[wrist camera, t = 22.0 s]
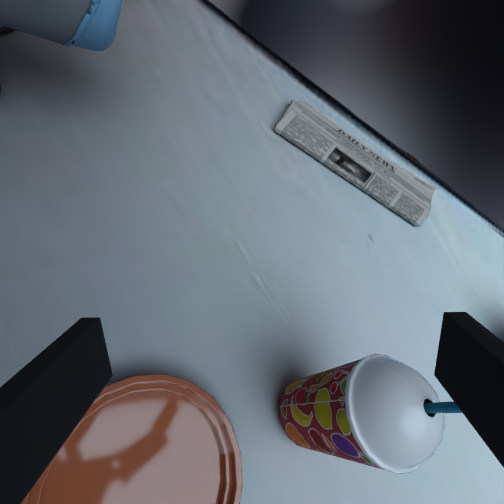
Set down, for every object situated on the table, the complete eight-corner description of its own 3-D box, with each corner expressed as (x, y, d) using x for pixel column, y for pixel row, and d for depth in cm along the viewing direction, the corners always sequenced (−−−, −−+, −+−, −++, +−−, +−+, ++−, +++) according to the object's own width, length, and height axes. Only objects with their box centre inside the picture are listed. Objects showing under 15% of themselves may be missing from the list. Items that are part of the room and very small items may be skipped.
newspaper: (272, 132, 56) (281, 117, 53) (291, 101, 63) (300, 86, 61) (420, 232, 61) (436, 223, 58) (422, 193, 68) (436, 183, 66)
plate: (87, 355, 29) (87, 351, 28) (249, 401, 34) (257, 400, 32) (-39, 618, 20) (-53, 637, 18) (205, 636, 24) (214, 653, 22)
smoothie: (326, 375, 39) (487, 344, 23) (334, 454, 35) (537, 484, 19) (266, 371, 36) (402, 333, 20) (268, 457, 32) (440, 496, 16)
